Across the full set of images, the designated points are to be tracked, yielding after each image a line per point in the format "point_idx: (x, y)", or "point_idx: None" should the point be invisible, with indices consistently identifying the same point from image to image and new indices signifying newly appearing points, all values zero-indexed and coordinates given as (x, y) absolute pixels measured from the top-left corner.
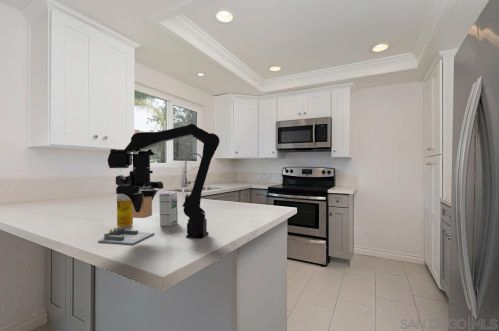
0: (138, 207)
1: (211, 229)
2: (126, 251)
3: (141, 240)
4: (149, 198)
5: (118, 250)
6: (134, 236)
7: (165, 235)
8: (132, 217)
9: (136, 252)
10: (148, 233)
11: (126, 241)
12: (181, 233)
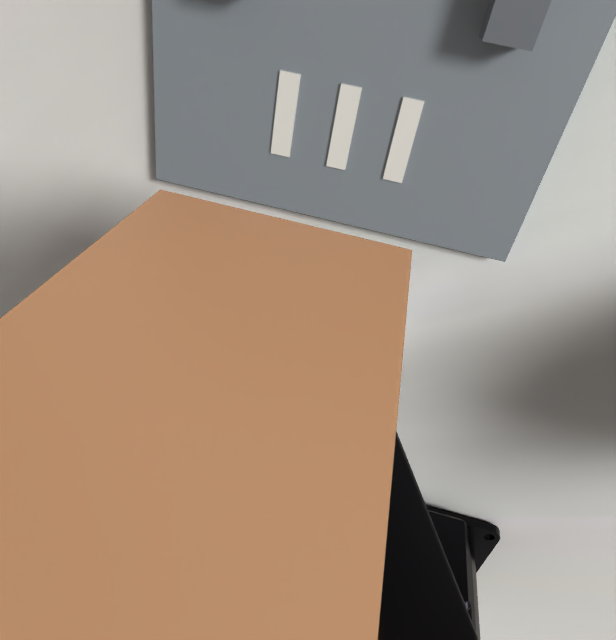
0: None
1: (569, 606)
2: (30, 192)
3: (281, 202)
4: None
5: (21, 109)
6: (372, 74)
7: (450, 358)
8: (161, 203)
9: (42, 272)
10: (492, 200)
11: (186, 78)
12: (495, 458)
